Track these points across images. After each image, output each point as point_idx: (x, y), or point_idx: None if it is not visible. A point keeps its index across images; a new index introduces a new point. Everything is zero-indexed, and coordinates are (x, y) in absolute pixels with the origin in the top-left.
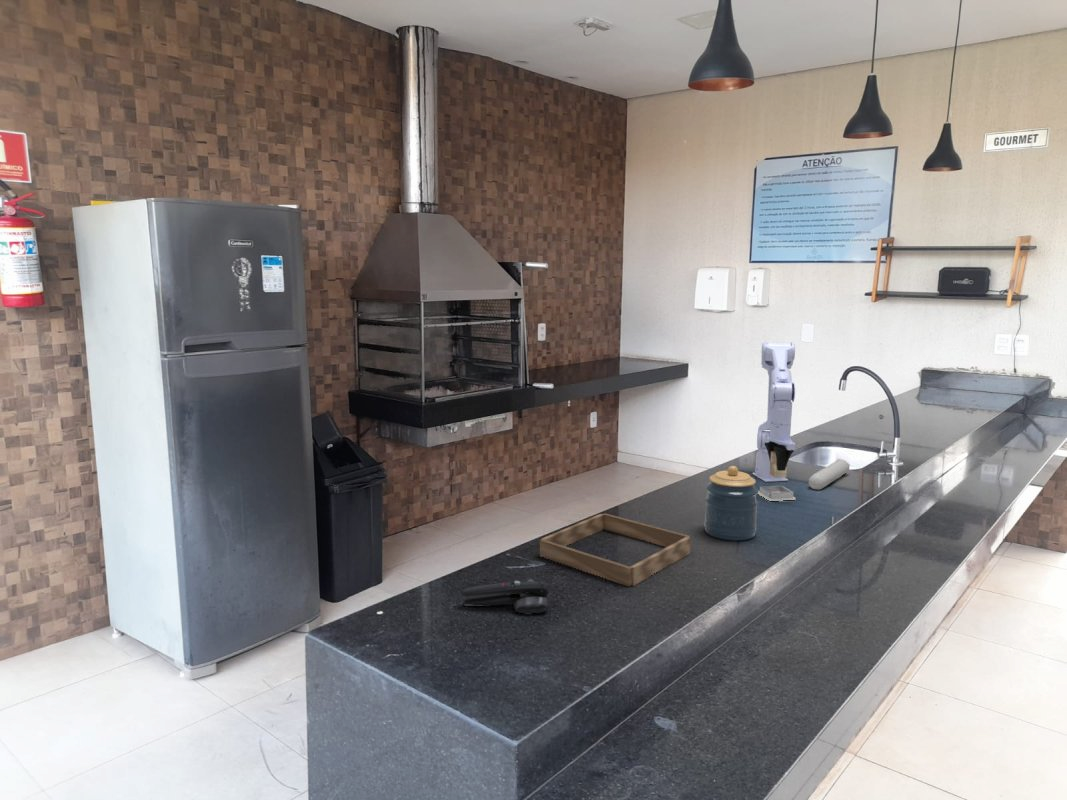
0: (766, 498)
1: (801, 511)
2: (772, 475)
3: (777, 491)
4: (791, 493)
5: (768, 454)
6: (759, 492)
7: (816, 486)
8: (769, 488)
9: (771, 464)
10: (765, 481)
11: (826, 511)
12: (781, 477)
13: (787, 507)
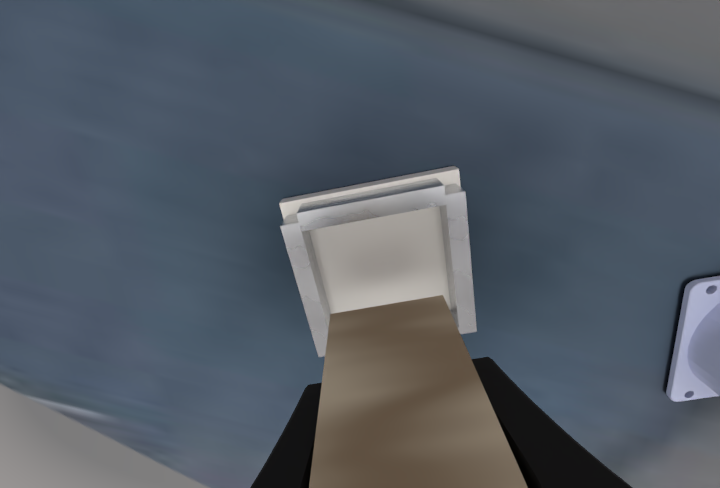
0: (323, 192)
1: (141, 317)
2: (382, 307)
3: (446, 291)
4: (315, 344)
5: (612, 475)
6: (428, 175)
7: None
8: (449, 252)
9: (439, 376)
10: (688, 283)
11: (173, 414)
12: (701, 380)
13: (195, 269)
